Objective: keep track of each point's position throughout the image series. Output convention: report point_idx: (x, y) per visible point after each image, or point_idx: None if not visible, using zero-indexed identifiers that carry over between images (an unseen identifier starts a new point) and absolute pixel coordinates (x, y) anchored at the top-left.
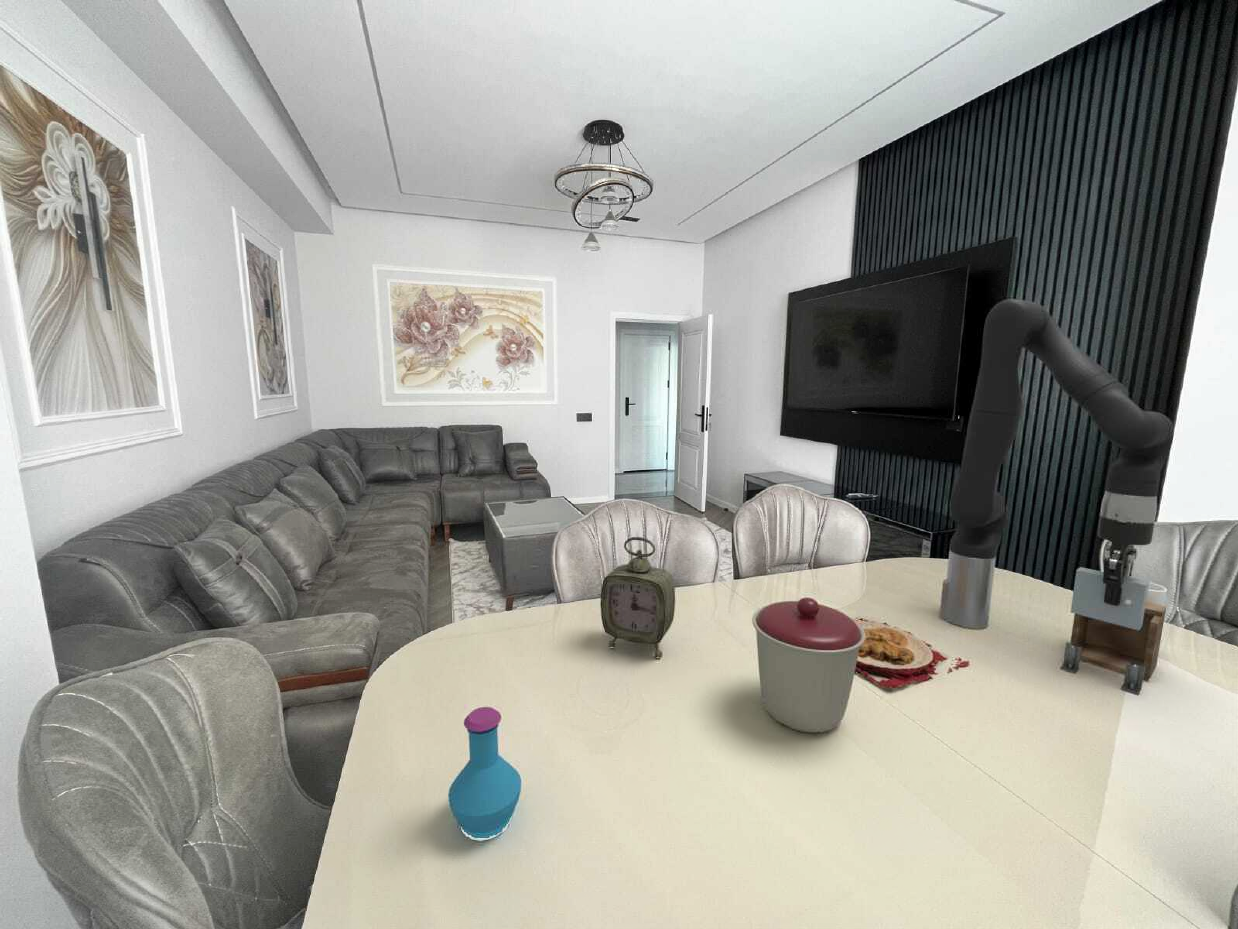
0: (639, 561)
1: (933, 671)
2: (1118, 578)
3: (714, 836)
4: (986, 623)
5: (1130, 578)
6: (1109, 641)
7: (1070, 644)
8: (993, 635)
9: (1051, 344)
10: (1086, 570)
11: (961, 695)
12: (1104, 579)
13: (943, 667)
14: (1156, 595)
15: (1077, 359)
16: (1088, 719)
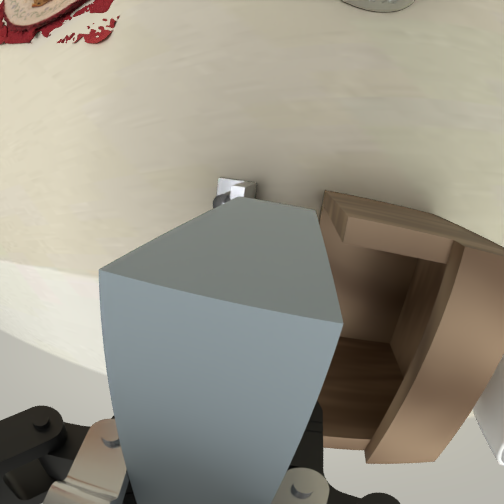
0: None
1: (48, 30)
2: (11, 472)
3: None
4: (364, 3)
5: None
6: (420, 283)
7: (229, 197)
8: (324, 25)
9: None
10: (190, 381)
11: (14, 90)
12: (13, 421)
13: (71, 27)
14: (492, 448)
15: None
16: (57, 237)
